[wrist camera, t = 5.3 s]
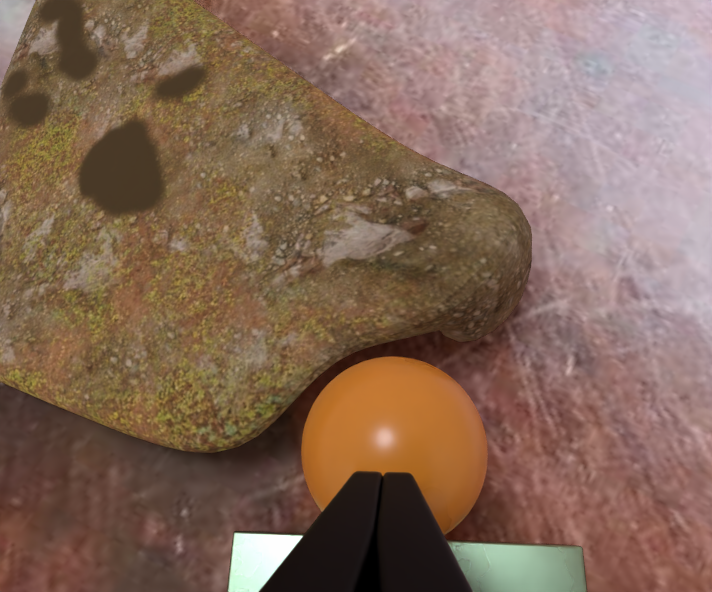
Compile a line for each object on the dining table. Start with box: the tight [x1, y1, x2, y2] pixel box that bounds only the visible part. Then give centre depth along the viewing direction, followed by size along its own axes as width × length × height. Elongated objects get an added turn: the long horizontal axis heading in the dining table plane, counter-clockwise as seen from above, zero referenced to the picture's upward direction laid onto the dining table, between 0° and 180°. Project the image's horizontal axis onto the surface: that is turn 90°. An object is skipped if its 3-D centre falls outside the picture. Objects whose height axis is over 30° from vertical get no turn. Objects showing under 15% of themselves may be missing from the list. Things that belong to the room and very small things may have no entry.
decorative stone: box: [0, 0, 532, 453], centre depth 21 cm, size 25×15×5 cm, turn 42°
